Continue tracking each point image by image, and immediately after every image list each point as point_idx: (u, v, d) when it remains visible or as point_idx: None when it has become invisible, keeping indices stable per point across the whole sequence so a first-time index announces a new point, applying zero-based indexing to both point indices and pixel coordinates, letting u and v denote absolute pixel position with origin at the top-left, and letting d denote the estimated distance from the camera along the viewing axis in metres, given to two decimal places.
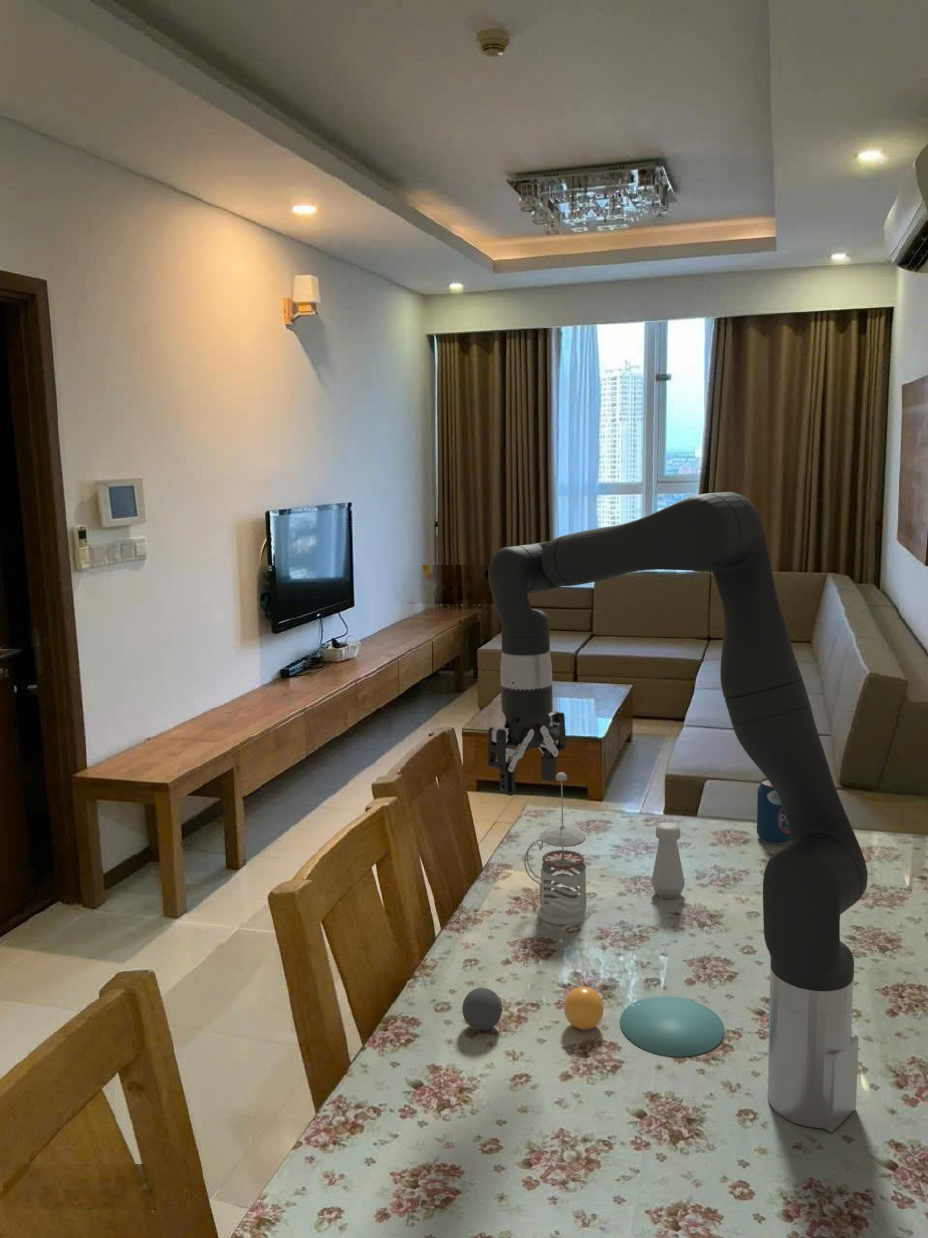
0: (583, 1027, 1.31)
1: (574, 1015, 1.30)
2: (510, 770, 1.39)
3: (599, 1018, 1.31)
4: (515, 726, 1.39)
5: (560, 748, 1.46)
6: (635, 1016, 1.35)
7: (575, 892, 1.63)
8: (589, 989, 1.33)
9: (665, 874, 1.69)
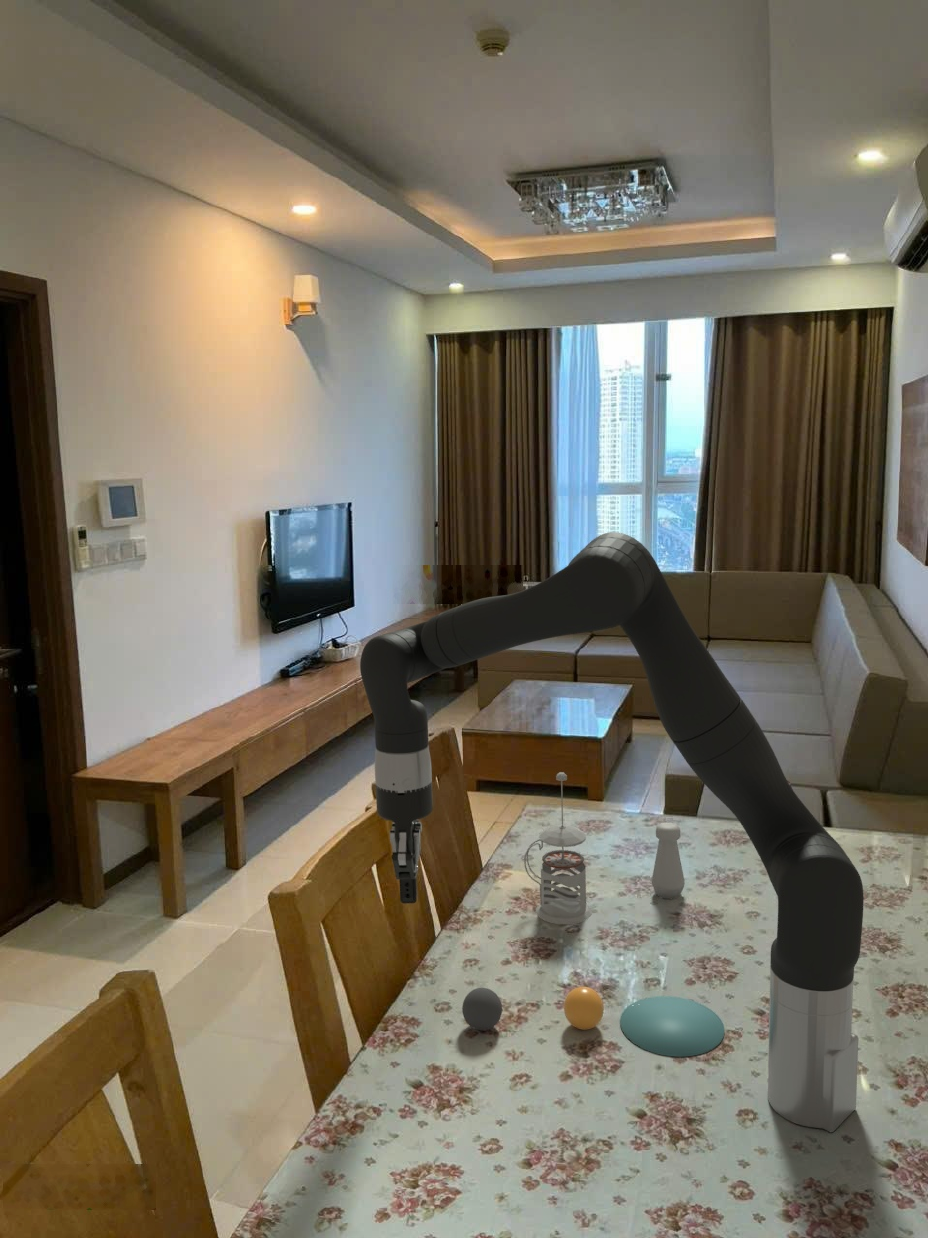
0: (583, 1027, 1.31)
1: (574, 1015, 1.30)
2: None
3: (599, 1018, 1.31)
4: None
5: None
6: (635, 1016, 1.35)
7: (575, 892, 1.63)
8: (589, 989, 1.33)
9: (665, 874, 1.69)
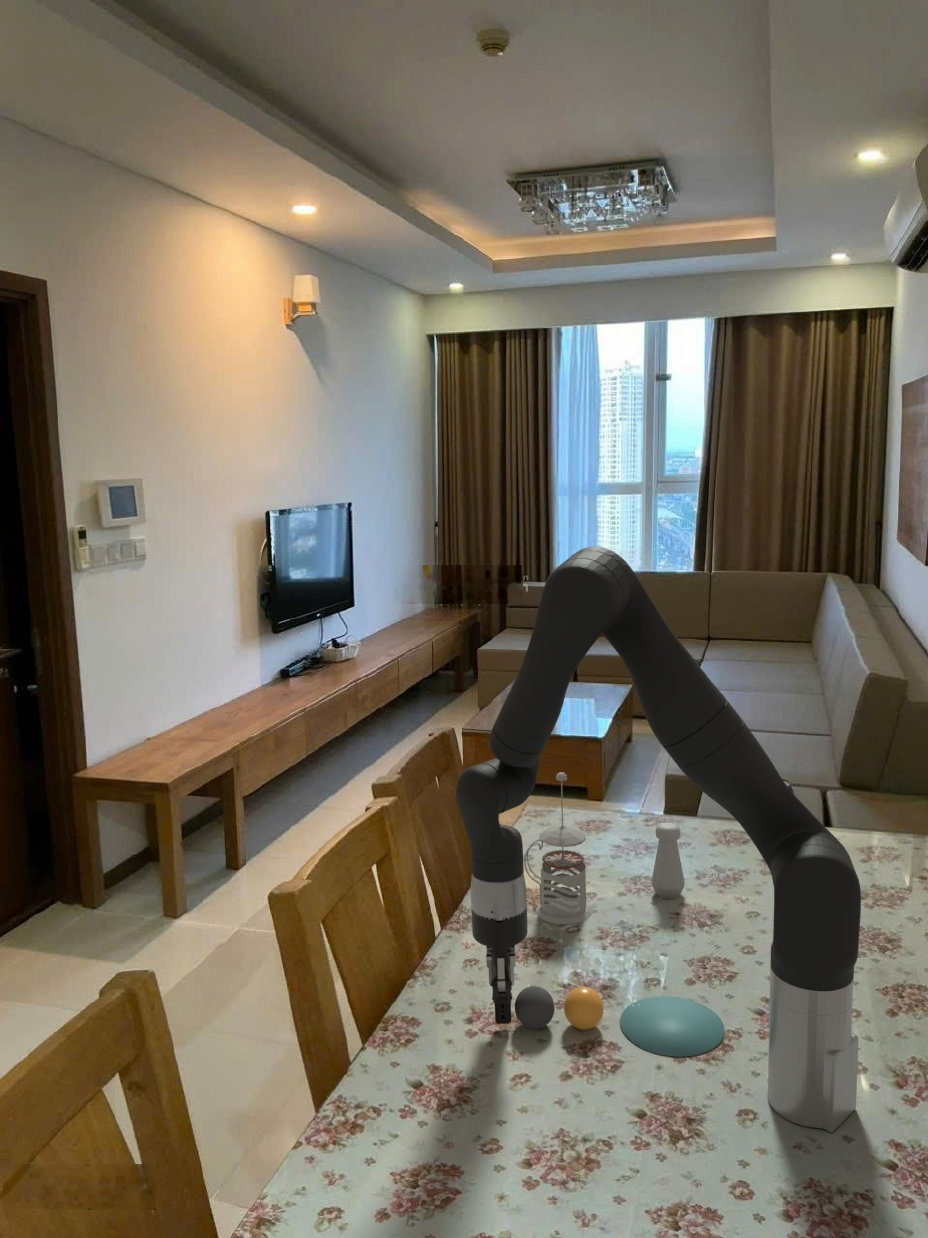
0: (583, 1027, 1.31)
1: (574, 1015, 1.30)
2: None
3: (599, 1018, 1.31)
4: None
5: None
6: (635, 1016, 1.35)
7: (575, 892, 1.63)
8: (589, 989, 1.33)
9: (665, 874, 1.69)
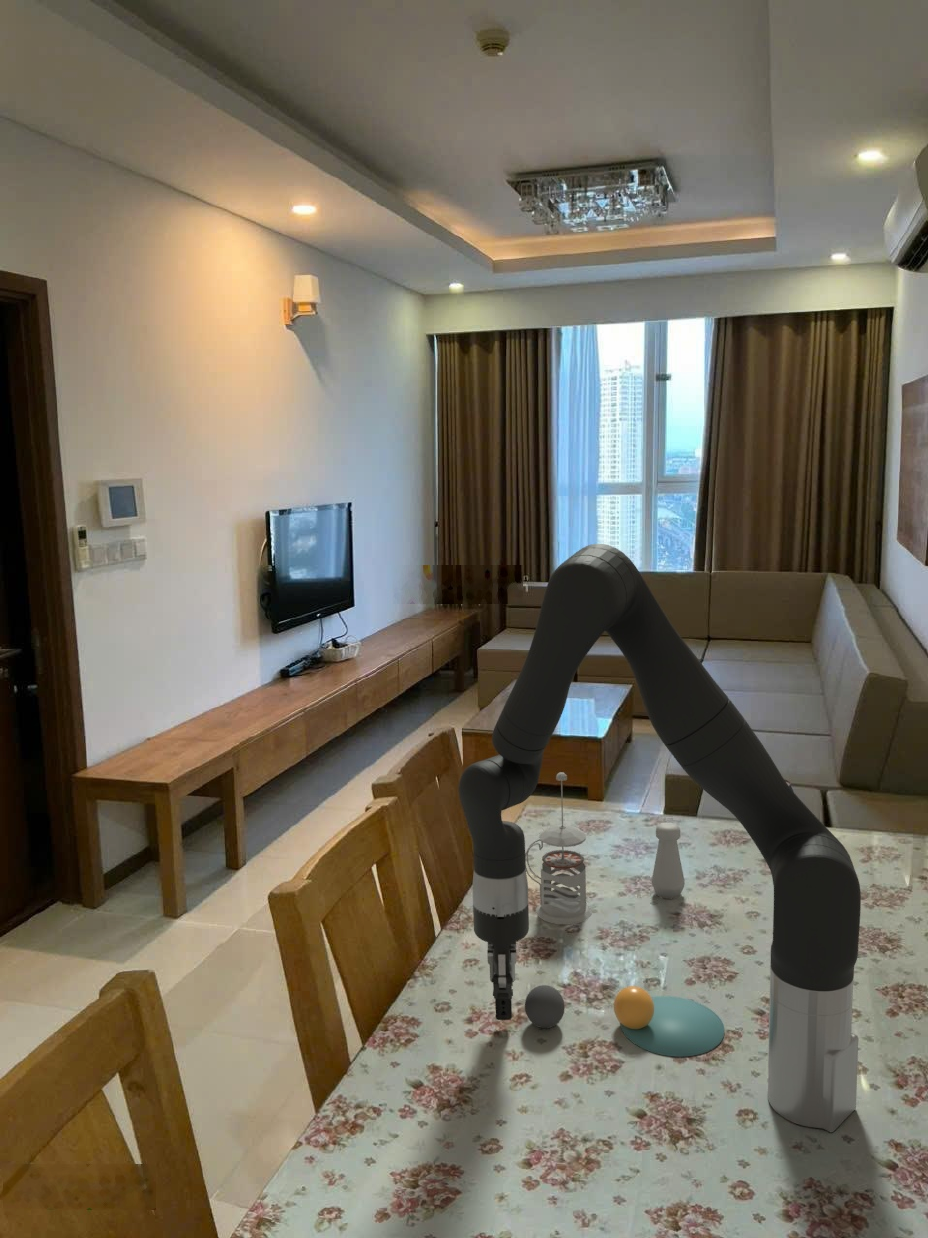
0: (631, 1009, 1.30)
1: (646, 1013, 1.30)
2: None
3: (622, 1021, 1.31)
4: None
5: None
6: None
7: (575, 892, 1.63)
8: None
9: (665, 874, 1.69)
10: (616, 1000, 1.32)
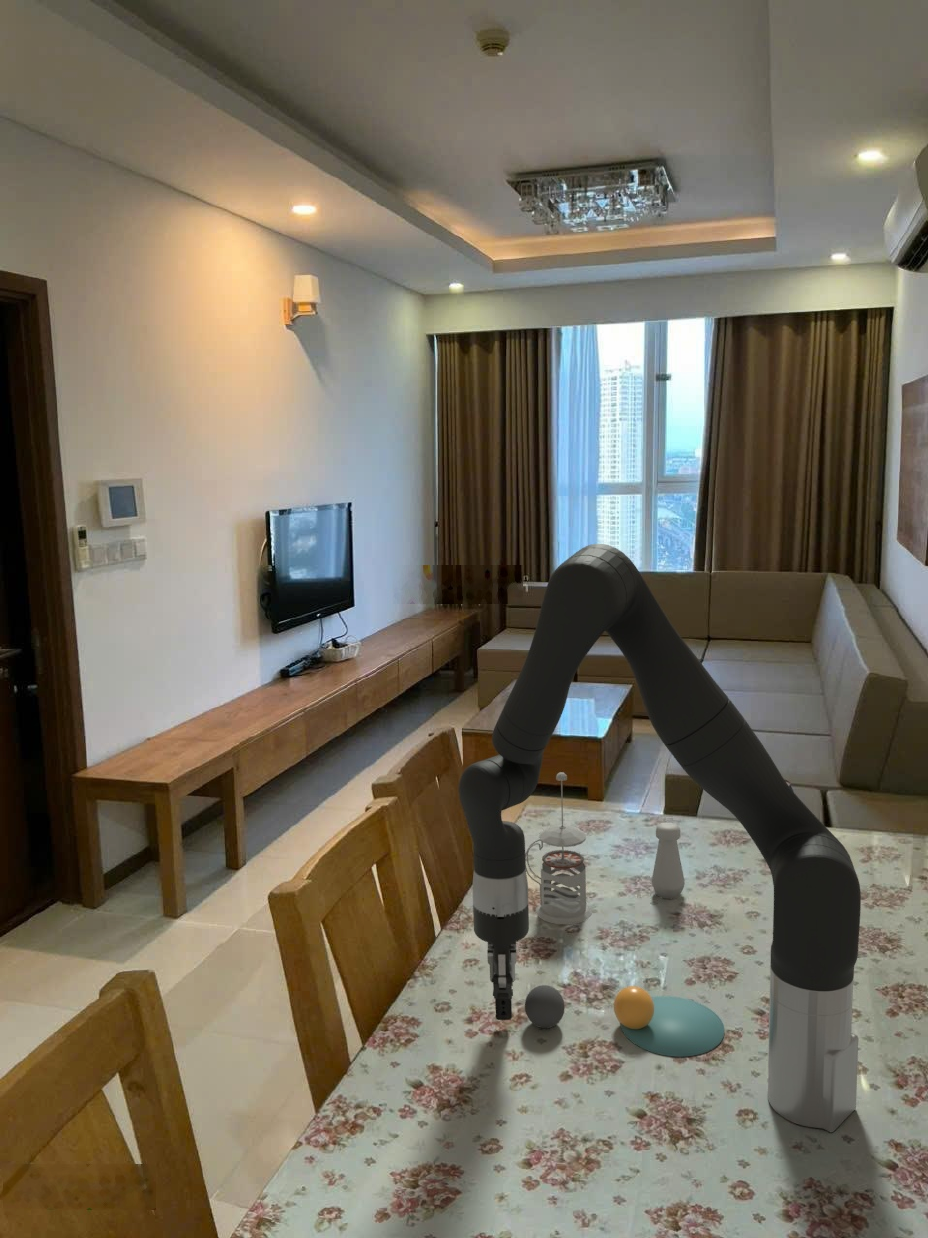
0: (631, 1009, 1.30)
1: (646, 1013, 1.30)
2: None
3: (622, 1021, 1.31)
4: None
5: None
6: None
7: (575, 892, 1.63)
8: None
9: (665, 874, 1.69)
10: (616, 1000, 1.32)
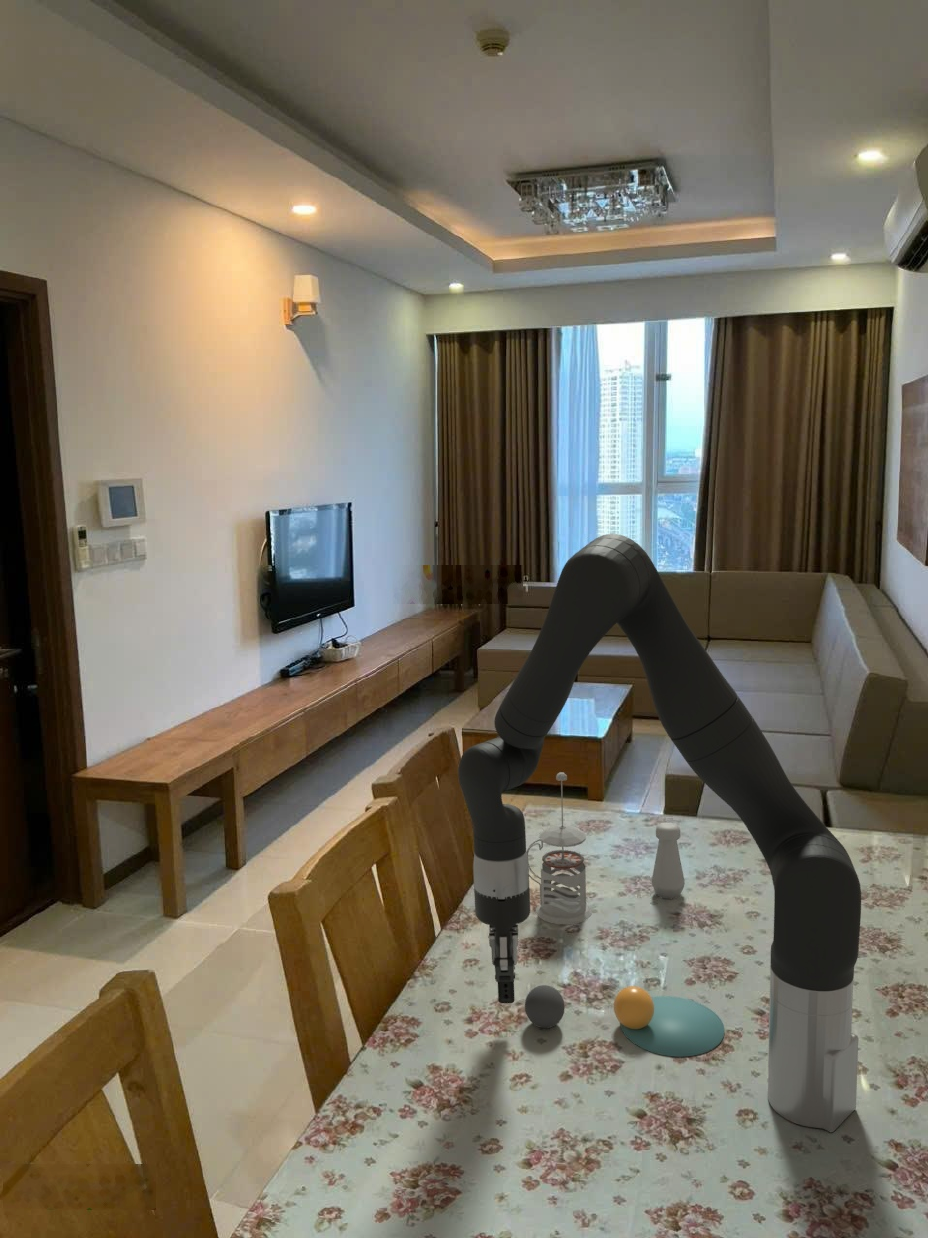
0: (631, 1009, 1.30)
1: (646, 1013, 1.30)
2: None
3: (622, 1021, 1.31)
4: None
5: None
6: None
7: (575, 892, 1.63)
8: None
9: (665, 874, 1.69)
10: (616, 1000, 1.32)
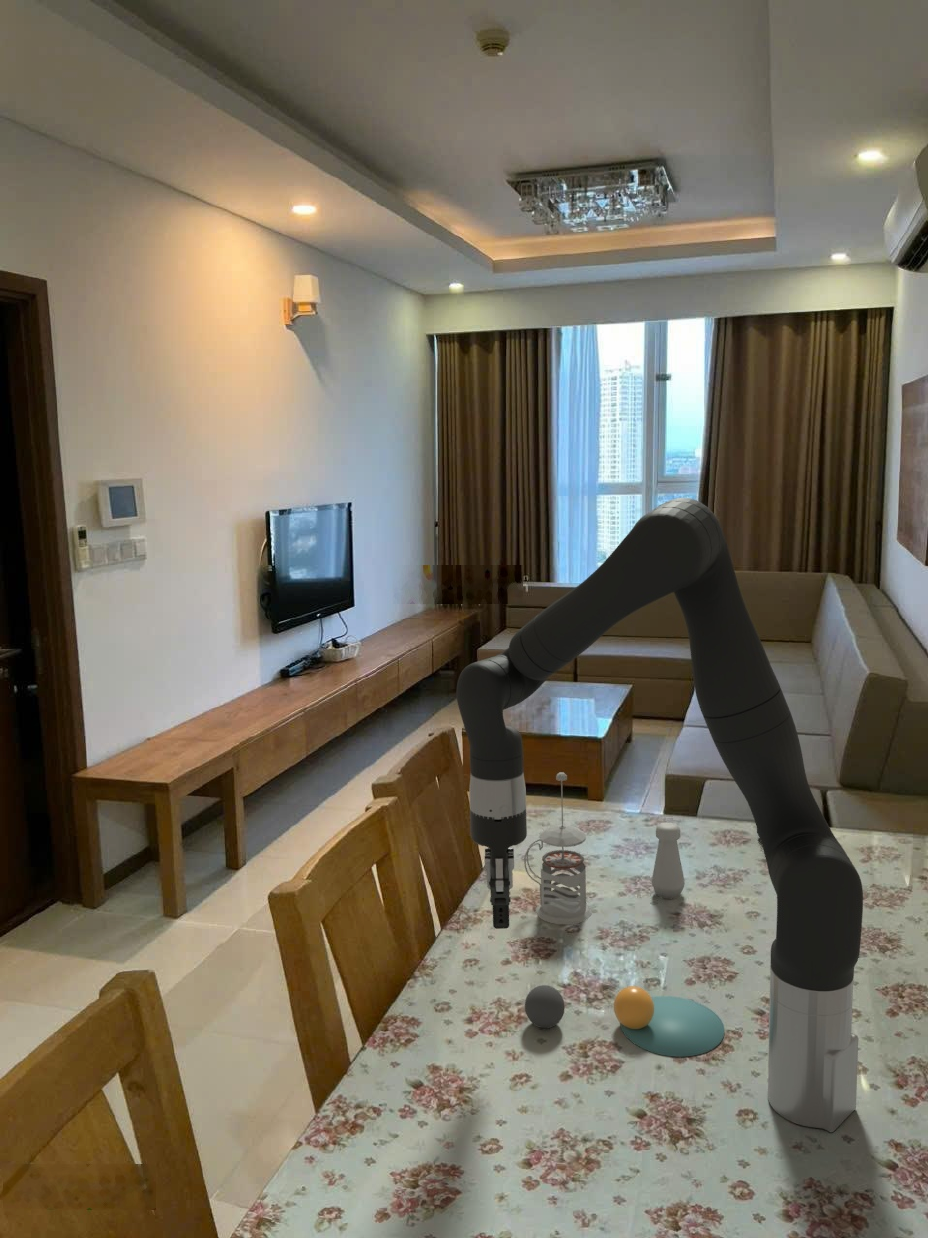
0: (631, 1009, 1.30)
1: (646, 1013, 1.30)
2: None
3: (622, 1021, 1.31)
4: None
5: None
6: None
7: (575, 892, 1.63)
8: None
9: (665, 874, 1.69)
10: (616, 1000, 1.32)
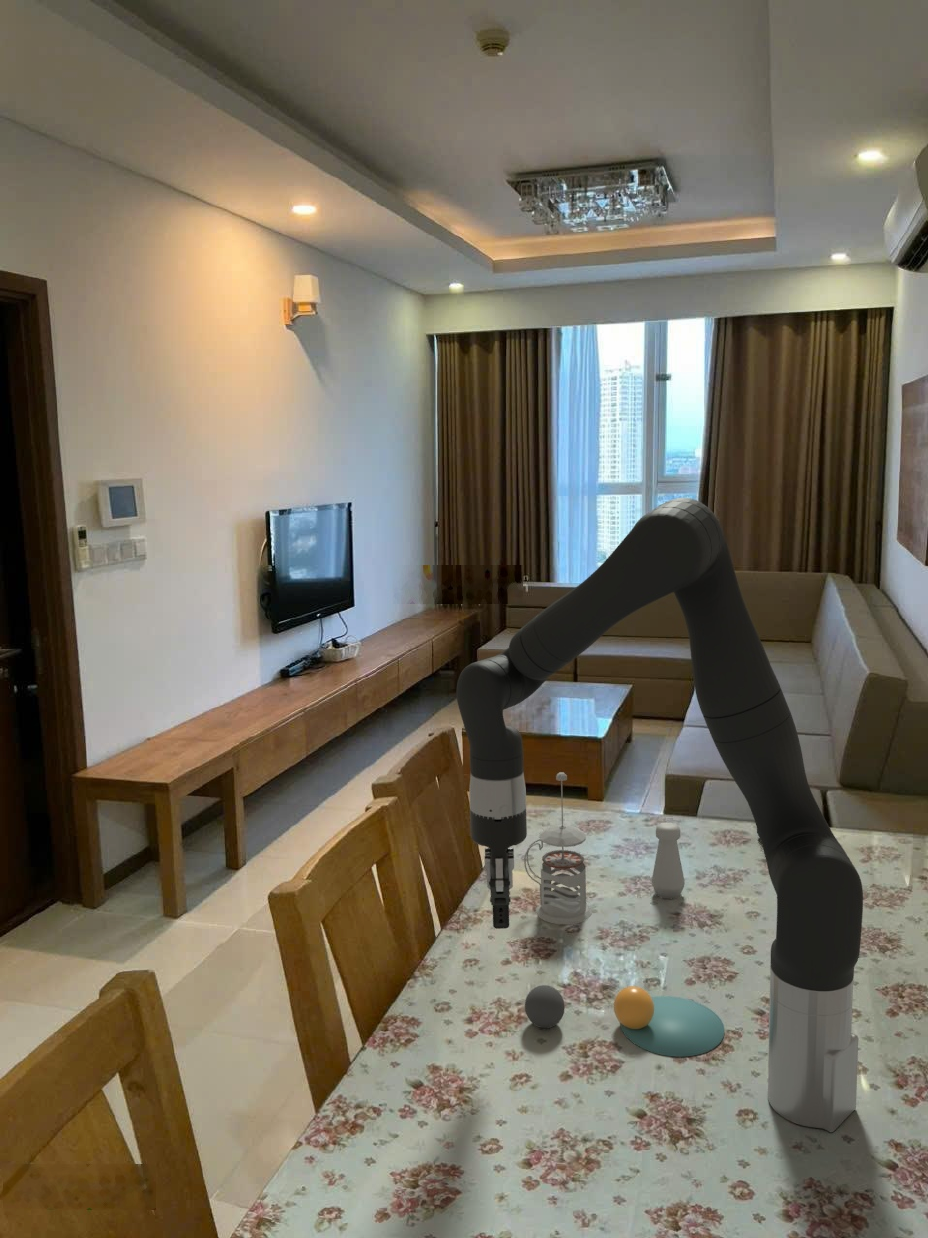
0: (631, 1009, 1.30)
1: (646, 1013, 1.30)
2: None
3: (622, 1021, 1.31)
4: None
5: None
6: None
7: (575, 892, 1.63)
8: None
9: (665, 874, 1.69)
10: (616, 1000, 1.32)
